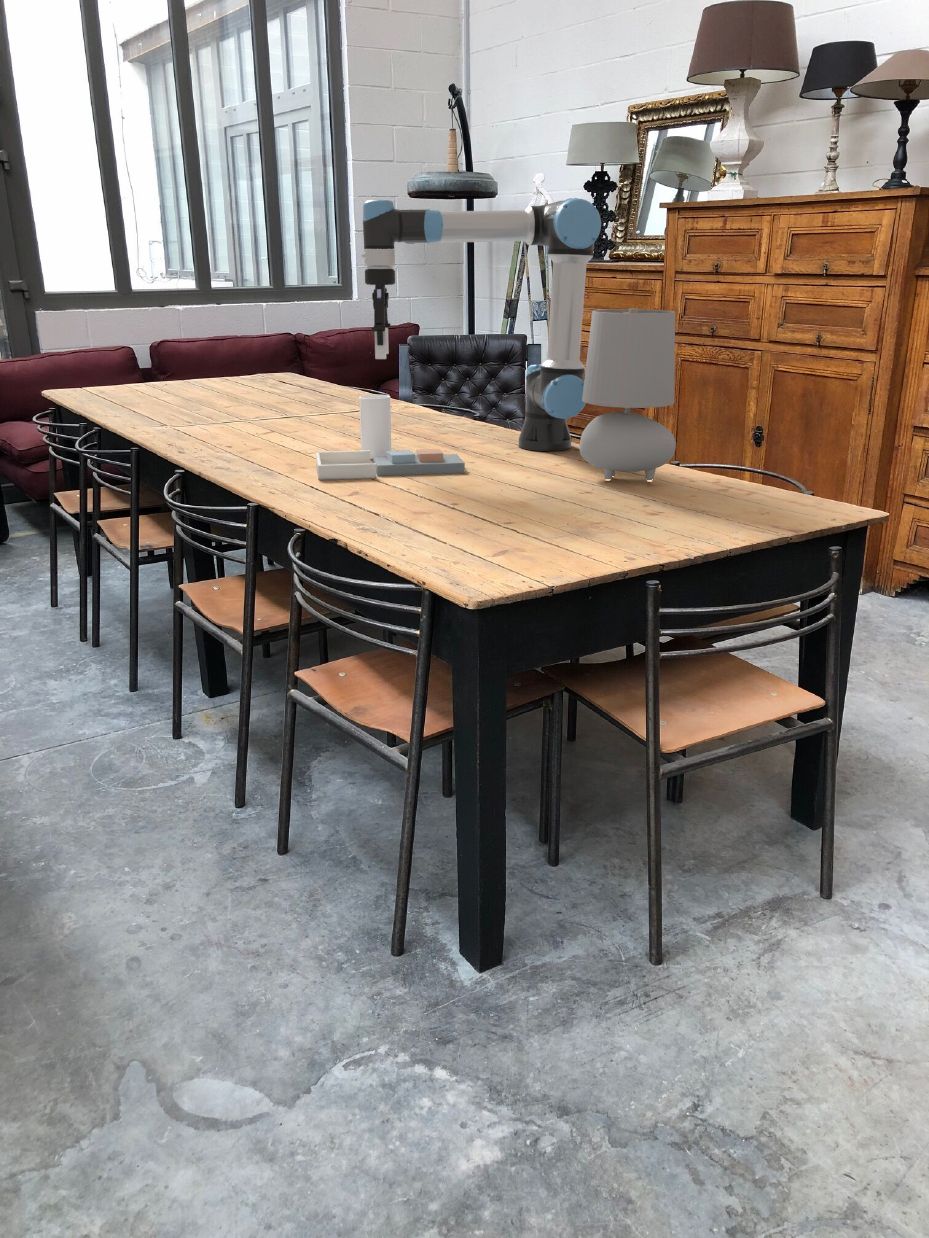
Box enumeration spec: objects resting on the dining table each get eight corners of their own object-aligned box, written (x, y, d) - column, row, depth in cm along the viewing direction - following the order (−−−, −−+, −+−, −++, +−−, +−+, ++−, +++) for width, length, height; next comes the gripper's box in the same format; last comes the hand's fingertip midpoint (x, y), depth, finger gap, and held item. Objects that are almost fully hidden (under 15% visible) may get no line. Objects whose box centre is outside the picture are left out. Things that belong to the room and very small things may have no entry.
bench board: (456, 463, 254) (456, 454, 253) (464, 472, 243) (464, 463, 242) (373, 465, 250) (372, 456, 249) (377, 475, 239) (377, 465, 238)
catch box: (370, 463, 253) (369, 450, 251) (376, 478, 236) (375, 464, 235) (316, 465, 250) (315, 451, 249) (318, 480, 234) (317, 465, 233)
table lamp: (678, 475, 241) (692, 307, 227) (666, 494, 222) (680, 312, 208) (587, 469, 248) (596, 305, 234) (568, 486, 229) (576, 309, 215)
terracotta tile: (439, 456, 249) (439, 449, 248) (443, 461, 244) (443, 453, 243) (416, 457, 248) (416, 449, 247) (419, 461, 243) (419, 454, 242)
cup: (386, 459, 258) (385, 399, 252) (357, 458, 259) (355, 398, 254) (394, 454, 265) (393, 395, 260) (366, 452, 267) (364, 394, 261)
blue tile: (409, 457, 248) (409, 449, 247) (415, 462, 242) (415, 454, 242) (386, 458, 246) (386, 451, 245) (392, 463, 241) (391, 455, 240)
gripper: (367, 267, 250) (370, 351, 258) (361, 268, 227) (364, 361, 235) (396, 267, 251) (398, 351, 258) (392, 268, 227) (395, 361, 235)
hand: (382, 356), depth 246 cm, fingers open, 13 cm apart
